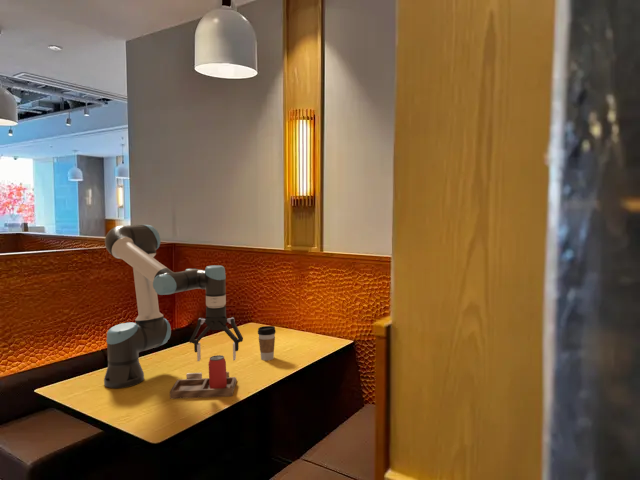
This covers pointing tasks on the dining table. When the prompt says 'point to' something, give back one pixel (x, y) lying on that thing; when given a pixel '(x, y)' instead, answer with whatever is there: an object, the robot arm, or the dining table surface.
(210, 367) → the beer can
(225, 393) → the brown desk organizer
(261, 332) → the coffee cup
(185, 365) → the dining table surface
